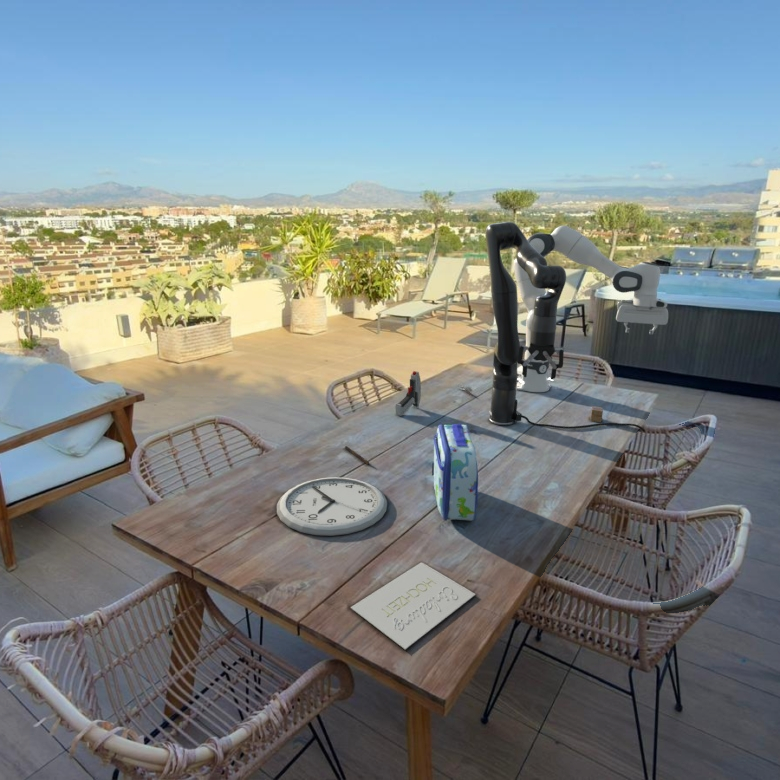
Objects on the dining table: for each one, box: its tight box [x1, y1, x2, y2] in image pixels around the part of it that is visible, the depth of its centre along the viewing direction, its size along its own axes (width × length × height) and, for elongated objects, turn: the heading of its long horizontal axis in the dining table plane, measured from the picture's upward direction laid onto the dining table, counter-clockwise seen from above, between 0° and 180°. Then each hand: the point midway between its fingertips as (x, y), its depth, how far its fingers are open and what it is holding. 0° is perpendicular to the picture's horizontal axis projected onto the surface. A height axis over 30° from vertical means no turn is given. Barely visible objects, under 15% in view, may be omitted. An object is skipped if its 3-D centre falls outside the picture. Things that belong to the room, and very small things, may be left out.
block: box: [590, 406, 604, 423], centre depth 210 cm, size 5×4×5 cm
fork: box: [457, 383, 474, 397], centre depth 243 cm, size 3×16×2 cm, turn 15°
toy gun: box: [395, 370, 422, 417], centre depth 214 cm, size 2×16×15 cm
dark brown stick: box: [344, 445, 370, 465], centre depth 173 cm, size 15×1×1 cm, turn 34°
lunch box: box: [431, 423, 479, 522], centre depth 142 cm, size 26×11×21 cm, turn 179°
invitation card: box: [350, 562, 476, 651], centre depth 106 cm, size 21×1×15 cm
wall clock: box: [276, 476, 388, 537], centre depth 142 cm, size 30×2×30 cm
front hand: (538, 378), depth 172 cm, fingers open, 8 cm apart
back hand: (639, 333), depth 227 cm, fingers open, 8 cm apart
